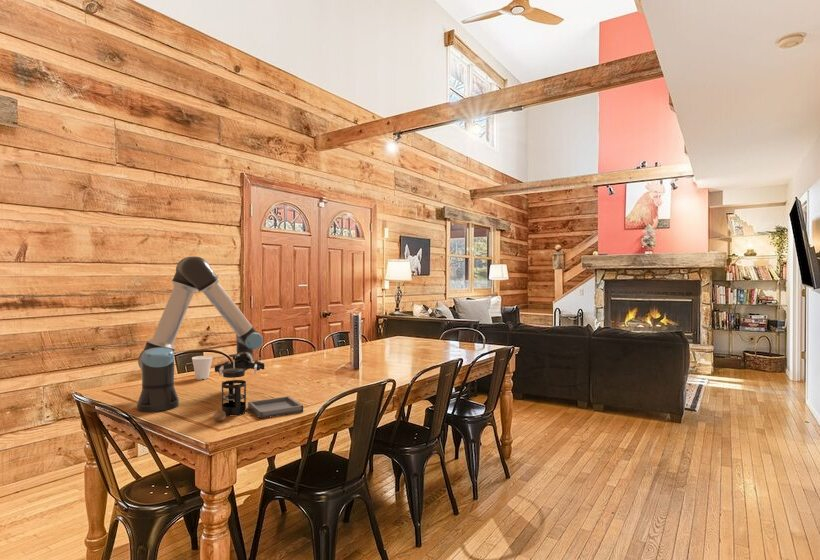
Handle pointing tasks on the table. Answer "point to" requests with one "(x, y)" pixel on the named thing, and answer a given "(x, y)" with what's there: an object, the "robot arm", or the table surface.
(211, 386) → the table surface
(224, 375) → the french press
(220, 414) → the wooden ball
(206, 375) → the cup
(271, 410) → the tray
